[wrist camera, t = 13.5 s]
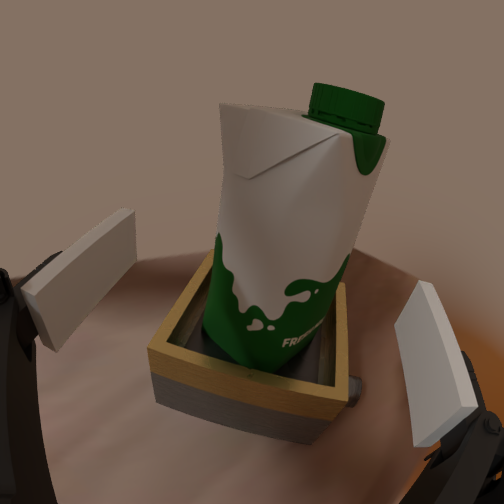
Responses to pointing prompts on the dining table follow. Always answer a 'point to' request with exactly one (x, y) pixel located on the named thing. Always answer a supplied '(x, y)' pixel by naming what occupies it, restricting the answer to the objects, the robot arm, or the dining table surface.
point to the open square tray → (251, 373)
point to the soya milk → (288, 219)
